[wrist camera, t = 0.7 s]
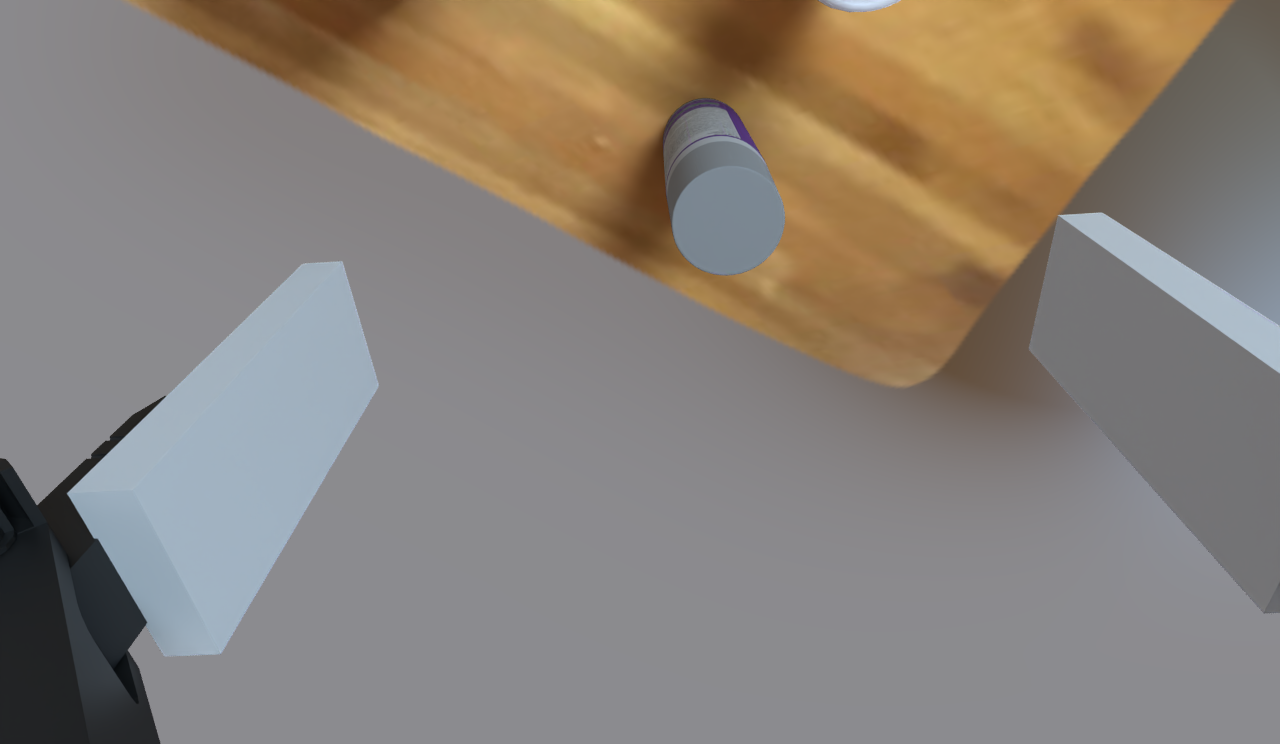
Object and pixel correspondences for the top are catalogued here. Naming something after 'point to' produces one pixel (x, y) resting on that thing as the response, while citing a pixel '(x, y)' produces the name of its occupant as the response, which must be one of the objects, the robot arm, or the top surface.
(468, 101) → the top surface
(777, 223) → the container
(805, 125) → the top surface
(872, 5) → the smoothie
